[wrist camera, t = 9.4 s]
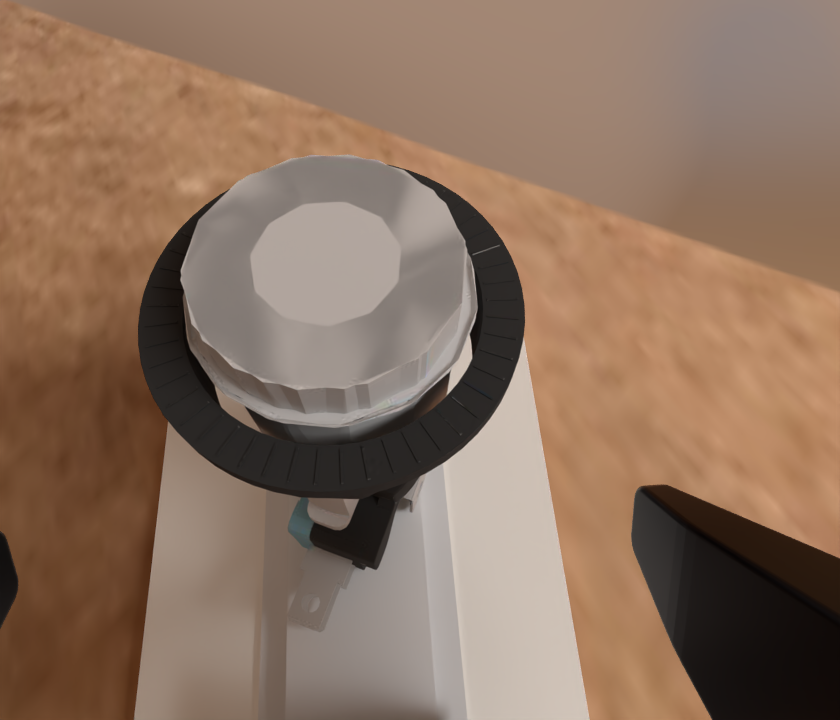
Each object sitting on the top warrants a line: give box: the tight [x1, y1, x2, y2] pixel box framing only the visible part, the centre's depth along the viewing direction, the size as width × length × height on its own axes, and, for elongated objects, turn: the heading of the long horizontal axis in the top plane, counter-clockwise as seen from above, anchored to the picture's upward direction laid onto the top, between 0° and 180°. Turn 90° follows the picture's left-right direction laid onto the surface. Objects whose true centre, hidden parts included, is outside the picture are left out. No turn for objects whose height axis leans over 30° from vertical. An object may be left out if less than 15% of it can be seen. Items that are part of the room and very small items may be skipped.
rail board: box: [134, 335, 590, 720], centre depth 16 cm, size 16×11×4 cm
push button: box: [138, 155, 525, 632], centre depth 12 cm, size 7×5×10 cm
